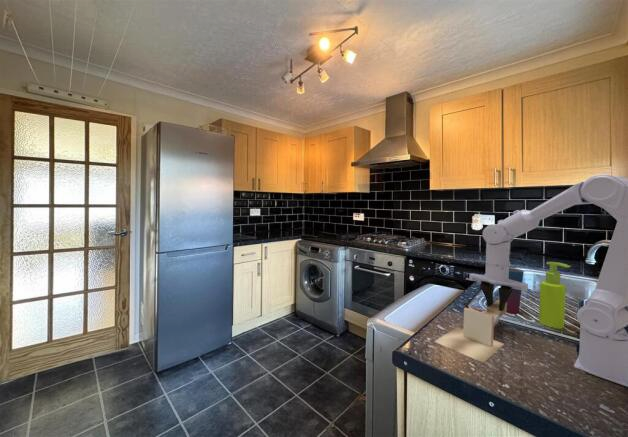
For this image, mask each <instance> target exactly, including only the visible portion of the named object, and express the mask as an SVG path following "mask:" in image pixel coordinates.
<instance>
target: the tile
mask: <svg viewBox="0 0 628 437" xmlns="http://www.w3.org/2000/svg"><path fill="white" fill-rule="evenodd" d="M494 328H495V326H494V316H493V315H489V314H486V313H482V311H478V310H475V309H471V308H468V307H463V328H462V329H463V336H464V337H467V338H470V339H472V340H475V341H478V342H480V343H483V344H486V345H488V346H491V347H492V346H493V340H494V332H495V331H494V330H495V329H494Z"/></svg>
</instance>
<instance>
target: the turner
mask: <svg viewBox="0 0 628 437" xmlns="http://www.w3.org/2000/svg"><path fill="white" fill-rule="evenodd" d="M499 301H500V299H497V300H495V301H494V302H493V304H492V305H491V306H489V307H488V306H487V307H486V310H482V311H481V312H482V313H486V314H489V315H493V316H494V327H495V326H496V325H497V324H498V323H500V318H501V317H502V316H503V315H505V314H506V313H508V312H507V302H506V304H505V308H504V310H503V311H499Z"/></svg>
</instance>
